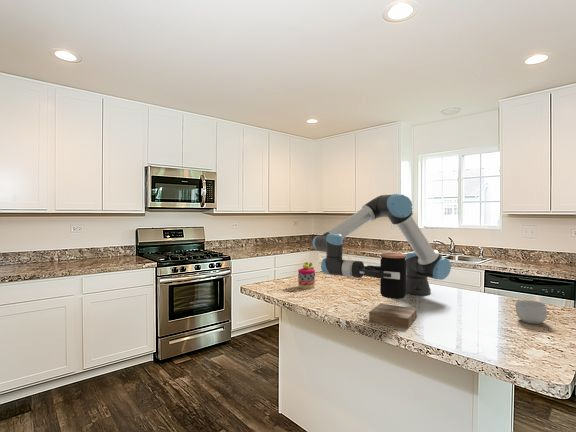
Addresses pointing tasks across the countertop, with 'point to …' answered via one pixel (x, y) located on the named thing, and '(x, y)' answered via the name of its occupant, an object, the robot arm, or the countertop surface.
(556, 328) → the countertop surface
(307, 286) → the cake
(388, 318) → the walnut base block
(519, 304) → the teacup
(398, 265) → the coffee jar
